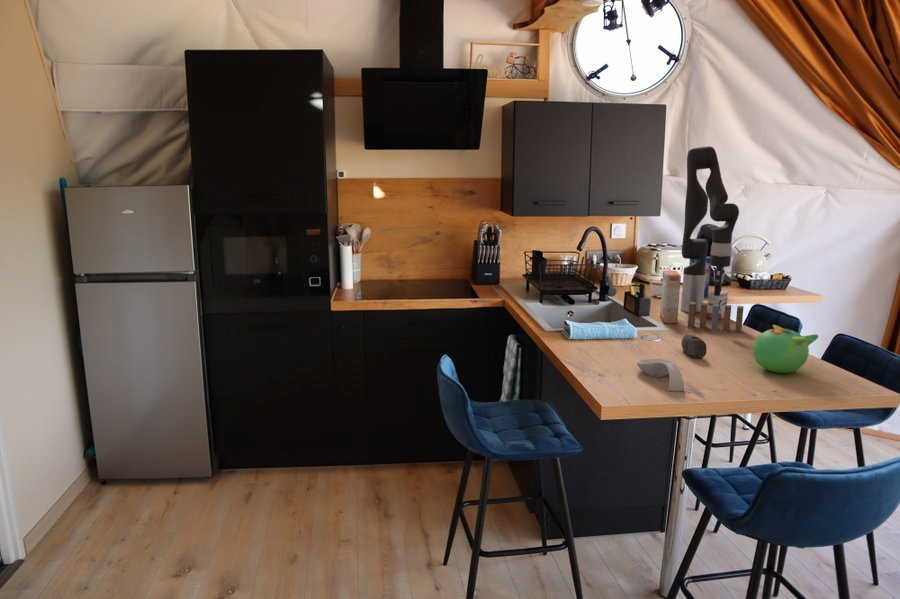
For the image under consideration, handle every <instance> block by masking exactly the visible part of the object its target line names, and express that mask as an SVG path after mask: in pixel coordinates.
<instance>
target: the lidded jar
mask: <svg viewBox="0 0 900 599" xmlns="http://www.w3.org/2000/svg"><path fill="white" fill-rule="evenodd" d="M662 282H663V277H661V278H660V279H653V280H650V291H651V294H653V296H654V295H655V296H661V295H662ZM655 296H654V297H655Z"/></svg>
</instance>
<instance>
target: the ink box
mask: <svg viewBox="0 0 900 599" xmlns="http://www.w3.org/2000/svg"><path fill="white" fill-rule="evenodd" d="M728 297H729V291H725V290H721V292H720V296H715V295H714V290H713V291H708V297H707V298H708V299H707V300H708V301H707V303H708V308H707V320H708V319H709V320H712V311H713V304H719V316H718V321H719V320H721V319H724V318H723V317H724V312H725V305H728Z"/></svg>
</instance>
